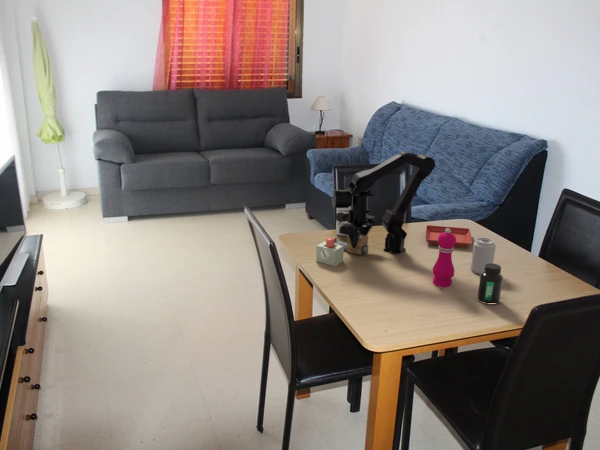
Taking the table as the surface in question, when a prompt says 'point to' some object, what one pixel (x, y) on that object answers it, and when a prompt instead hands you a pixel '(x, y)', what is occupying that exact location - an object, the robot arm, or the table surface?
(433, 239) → the plant saucer
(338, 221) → the syrup box
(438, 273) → the pepper mill
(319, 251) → the cabinet
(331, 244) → the gauge button
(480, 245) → the can
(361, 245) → the block
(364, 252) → the rail
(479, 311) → the table surface
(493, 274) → the supplement bottle
